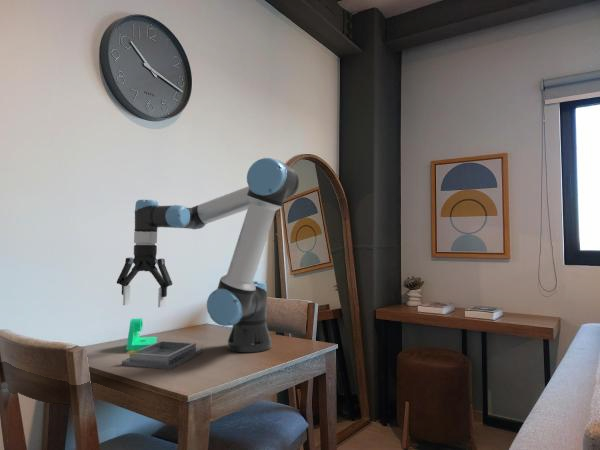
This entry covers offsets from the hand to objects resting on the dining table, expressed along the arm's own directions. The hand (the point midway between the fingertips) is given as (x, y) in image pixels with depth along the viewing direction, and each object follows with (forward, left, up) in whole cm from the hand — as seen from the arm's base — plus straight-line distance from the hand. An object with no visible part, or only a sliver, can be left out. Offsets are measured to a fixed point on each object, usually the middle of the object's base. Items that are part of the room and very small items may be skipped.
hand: (143, 305), depth 148 cm
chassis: (-14, +10, -14) cm, 23 cm away
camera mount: (0, 0, -15) cm, 15 cm away
